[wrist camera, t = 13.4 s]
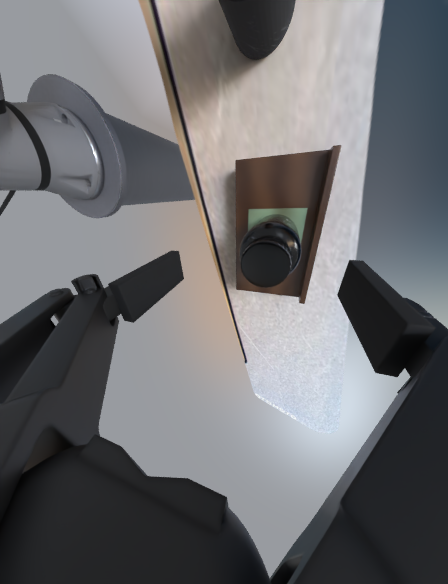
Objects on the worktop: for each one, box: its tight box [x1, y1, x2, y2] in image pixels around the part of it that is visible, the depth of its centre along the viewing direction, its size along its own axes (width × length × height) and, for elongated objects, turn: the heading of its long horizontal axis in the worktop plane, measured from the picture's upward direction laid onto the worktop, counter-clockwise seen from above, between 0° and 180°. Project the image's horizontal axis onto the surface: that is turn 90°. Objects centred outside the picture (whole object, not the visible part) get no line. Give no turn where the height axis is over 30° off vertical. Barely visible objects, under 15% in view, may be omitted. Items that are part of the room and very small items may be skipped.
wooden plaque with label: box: [236, 145, 341, 304], centre depth 27 cm, size 12×20×7 cm, turn 2°
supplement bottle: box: [239, 214, 301, 288], centre depth 21 cm, size 7×7×12 cm
